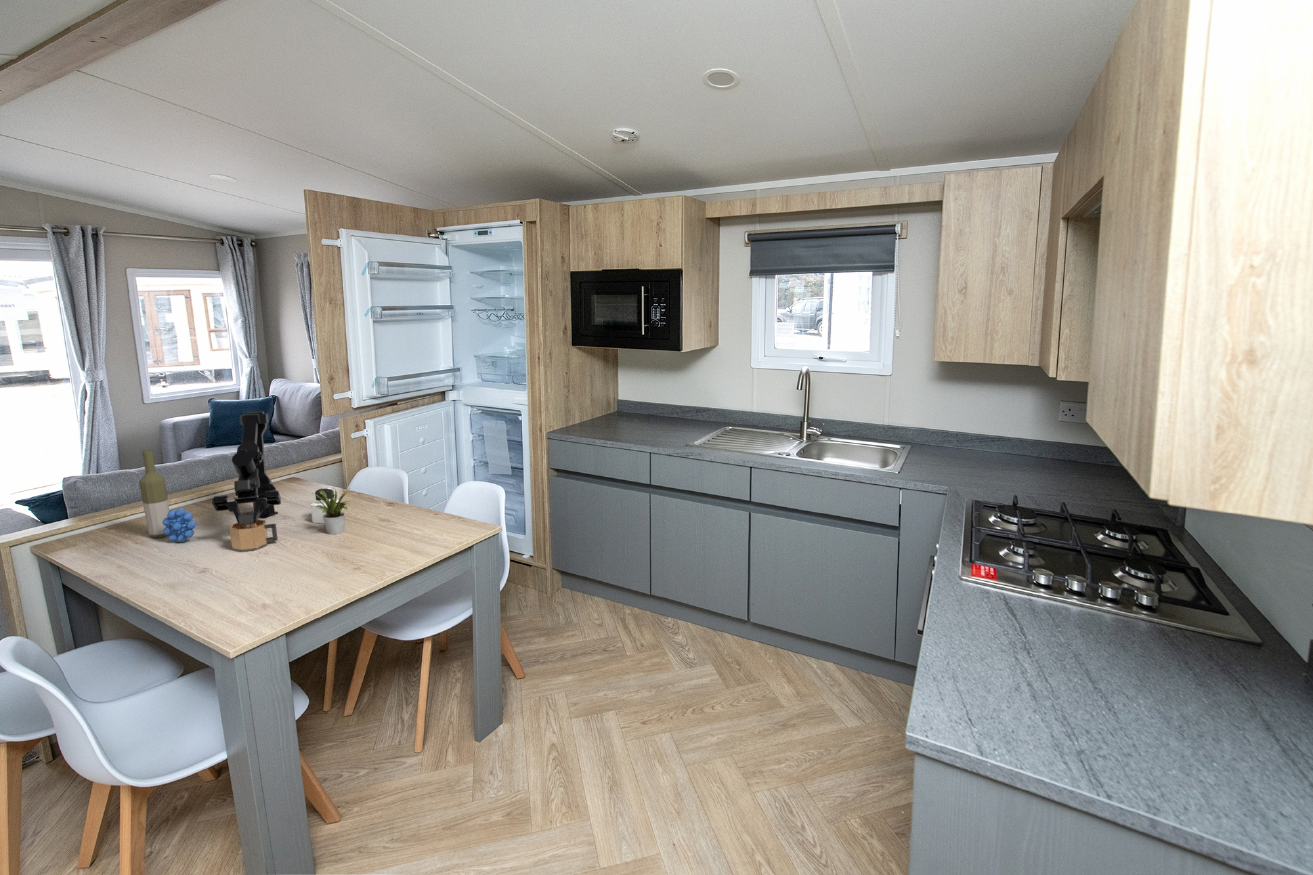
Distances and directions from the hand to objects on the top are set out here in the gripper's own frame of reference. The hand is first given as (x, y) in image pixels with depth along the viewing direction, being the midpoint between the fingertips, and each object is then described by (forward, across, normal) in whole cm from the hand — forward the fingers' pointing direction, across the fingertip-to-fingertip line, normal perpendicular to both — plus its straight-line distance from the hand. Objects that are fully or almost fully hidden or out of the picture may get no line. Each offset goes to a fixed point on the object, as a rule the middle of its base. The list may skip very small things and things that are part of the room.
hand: (246, 523), depth 210 cm
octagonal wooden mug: (+5, +1, +7) cm, 9 cm away
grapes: (-5, -21, +17) cm, 27 cm away
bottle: (-12, -30, +24) cm, 40 cm away
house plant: (+3, +24, +10) cm, 26 cm away
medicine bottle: (-8, +22, +20) cm, 31 cm away
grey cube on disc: (+2, 0, +4) cm, 5 cm away
